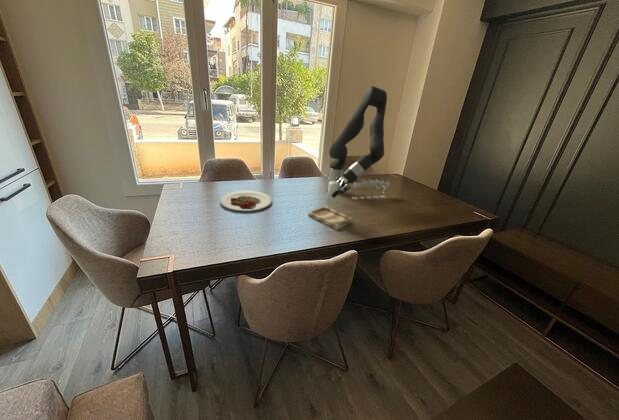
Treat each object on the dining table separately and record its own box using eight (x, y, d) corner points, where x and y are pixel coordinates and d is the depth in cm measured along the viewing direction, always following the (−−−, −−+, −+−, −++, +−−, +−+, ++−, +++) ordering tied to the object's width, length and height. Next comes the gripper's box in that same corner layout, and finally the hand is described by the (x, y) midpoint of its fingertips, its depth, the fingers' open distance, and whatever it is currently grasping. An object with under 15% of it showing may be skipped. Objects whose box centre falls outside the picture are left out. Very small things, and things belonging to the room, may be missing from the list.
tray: (308, 216, 142) (308, 212, 141) (323, 209, 151) (324, 205, 150) (336, 230, 130) (336, 225, 129) (351, 222, 140) (352, 218, 139)
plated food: (253, 190, 171) (253, 185, 170) (281, 205, 153) (281, 200, 151) (211, 199, 151) (210, 194, 150) (237, 218, 133) (237, 212, 131)
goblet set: (383, 195, 184) (387, 177, 178) (388, 198, 179) (392, 180, 173) (349, 196, 175) (352, 178, 169) (353, 200, 170) (356, 181, 164)
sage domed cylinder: (324, 203, 136) (326, 182, 131) (331, 200, 141) (333, 180, 136) (332, 206, 133) (335, 185, 128) (339, 204, 137) (342, 183, 132)
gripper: (344, 164, 137) (321, 185, 138) (356, 171, 124) (331, 195, 126) (351, 173, 141) (329, 194, 142) (363, 181, 128) (339, 204, 130)
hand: (330, 194), depth 134 cm, fingers closed on sage domed cylinder, 6 cm apart
